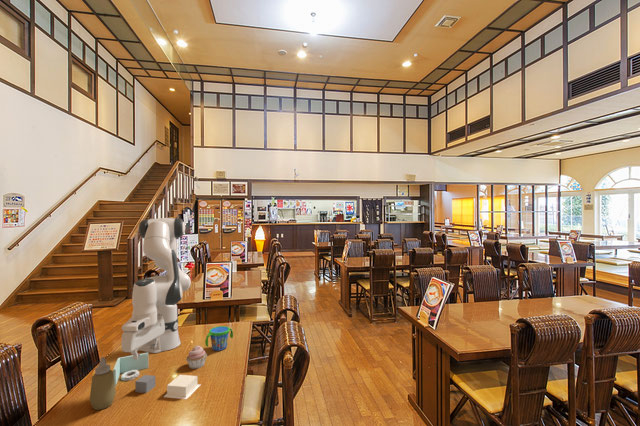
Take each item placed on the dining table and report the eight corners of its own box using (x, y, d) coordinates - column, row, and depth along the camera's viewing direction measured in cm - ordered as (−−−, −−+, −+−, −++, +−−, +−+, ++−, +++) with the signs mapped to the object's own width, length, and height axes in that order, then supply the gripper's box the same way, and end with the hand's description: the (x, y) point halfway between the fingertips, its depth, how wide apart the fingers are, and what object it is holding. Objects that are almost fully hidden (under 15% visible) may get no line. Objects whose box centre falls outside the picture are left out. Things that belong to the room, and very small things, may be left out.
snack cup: (228, 341, 171) (228, 323, 171) (237, 346, 163) (237, 328, 163) (201, 349, 160) (201, 330, 160) (209, 356, 152) (209, 336, 152)
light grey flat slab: (148, 400, 116) (148, 398, 116) (171, 380, 130) (171, 379, 130) (190, 404, 113) (190, 402, 113) (210, 384, 127) (210, 382, 127)
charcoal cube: (135, 393, 121) (135, 381, 121) (144, 386, 125) (144, 374, 125) (146, 394, 120) (146, 382, 120) (155, 387, 125) (155, 375, 125)
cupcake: (196, 373, 136) (196, 351, 136) (181, 369, 139) (181, 347, 140) (211, 364, 144) (211, 343, 144) (197, 360, 148) (197, 340, 148)
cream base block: (167, 395, 118) (167, 385, 118) (179, 384, 126) (179, 374, 126) (185, 397, 116) (185, 386, 116) (197, 385, 124) (197, 376, 124)
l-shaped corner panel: (113, 387, 126) (113, 369, 126) (118, 374, 137) (118, 357, 137) (146, 380, 131) (145, 363, 131) (148, 368, 142) (148, 352, 142)
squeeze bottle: (98, 399, 117) (98, 353, 117) (120, 398, 118) (120, 352, 118) (84, 413, 109) (83, 363, 109) (107, 411, 109) (107, 362, 110)
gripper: (155, 311, 134) (156, 342, 133) (118, 328, 113) (118, 365, 113) (168, 311, 133) (168, 343, 132) (132, 328, 112) (133, 365, 112)
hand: (145, 353), depth 122 cm, fingers open, 8 cm apart
